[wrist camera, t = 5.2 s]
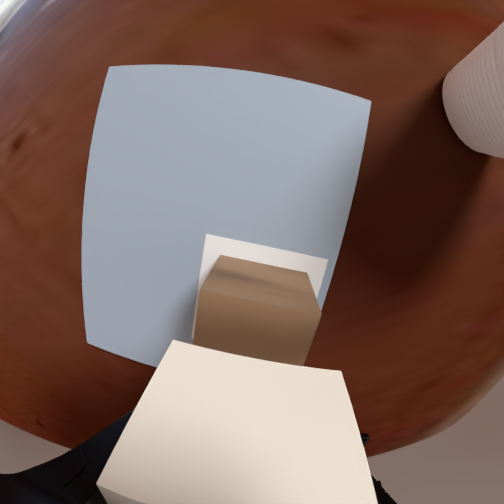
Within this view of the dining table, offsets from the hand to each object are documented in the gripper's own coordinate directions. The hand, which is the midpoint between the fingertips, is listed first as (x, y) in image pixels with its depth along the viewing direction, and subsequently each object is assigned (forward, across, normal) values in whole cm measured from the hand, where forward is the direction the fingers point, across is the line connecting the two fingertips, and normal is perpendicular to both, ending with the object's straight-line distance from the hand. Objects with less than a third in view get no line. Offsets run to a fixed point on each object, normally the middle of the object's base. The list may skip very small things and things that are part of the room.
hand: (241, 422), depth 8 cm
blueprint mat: (+10, +4, -3) cm, 11 cm away
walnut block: (+9, 0, 0) cm, 9 cm away
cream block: (0, 0, 0) cm, 0 cm away
